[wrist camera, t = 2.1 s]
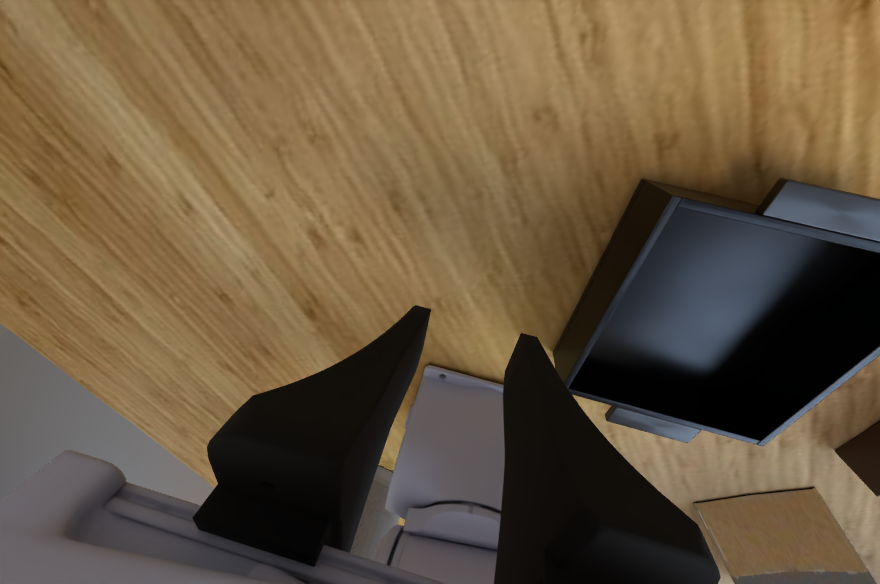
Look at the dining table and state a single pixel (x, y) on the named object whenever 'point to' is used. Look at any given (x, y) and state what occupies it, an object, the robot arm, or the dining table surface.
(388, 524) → the glass holder
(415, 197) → the dining table surface
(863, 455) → the back rail
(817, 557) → the sandwich container
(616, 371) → the roasting tin
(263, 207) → the dining table surface
